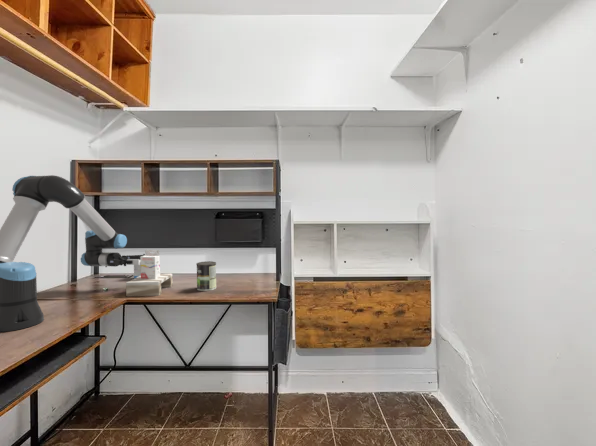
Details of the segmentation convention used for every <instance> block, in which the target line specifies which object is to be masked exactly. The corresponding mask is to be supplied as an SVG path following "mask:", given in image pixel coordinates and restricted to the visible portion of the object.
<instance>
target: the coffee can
mask: <svg viewBox="0 0 596 446" xmlns="http://www.w3.org/2000/svg"><path fill="white" fill-rule="evenodd" d="M216 289H217V262H216V261H212V260H211V261H208V260H207V261H199V262H196V290H197V291H201V292H209V291H213V290H216Z"/></svg>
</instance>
